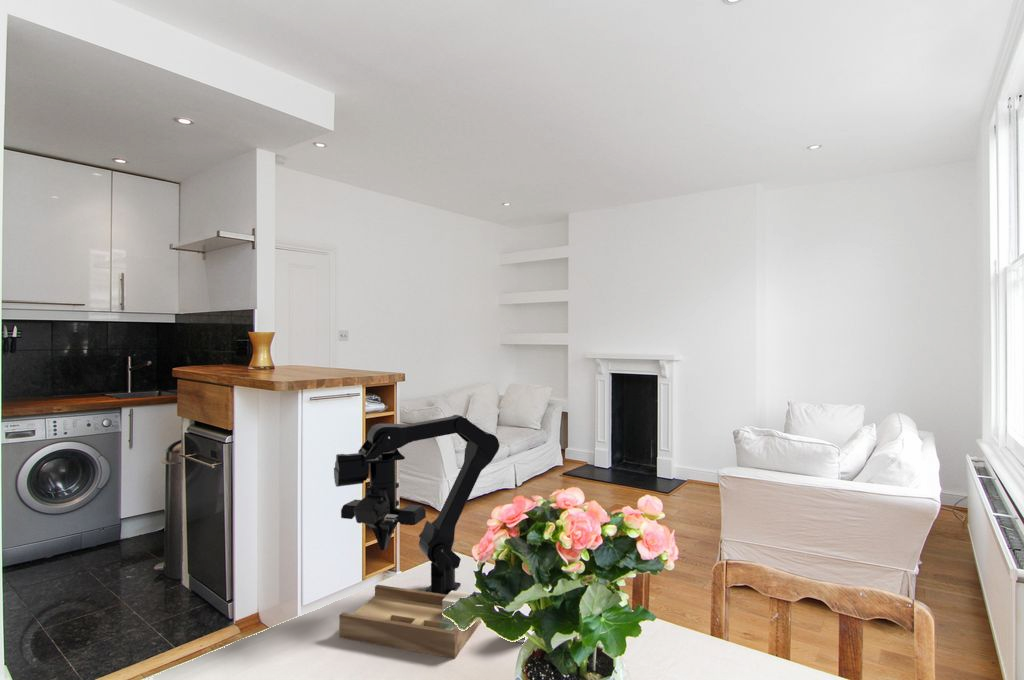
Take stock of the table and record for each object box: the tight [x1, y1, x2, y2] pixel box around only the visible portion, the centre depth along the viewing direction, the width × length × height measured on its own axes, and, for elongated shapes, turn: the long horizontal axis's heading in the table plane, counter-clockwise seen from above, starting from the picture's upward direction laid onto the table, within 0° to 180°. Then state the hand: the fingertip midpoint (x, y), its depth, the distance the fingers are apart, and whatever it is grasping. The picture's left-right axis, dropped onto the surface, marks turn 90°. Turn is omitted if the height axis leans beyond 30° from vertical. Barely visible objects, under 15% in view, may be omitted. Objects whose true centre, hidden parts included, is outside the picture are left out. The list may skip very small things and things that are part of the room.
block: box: [442, 590, 472, 622], centre depth 111 cm, size 4×5×4 cm
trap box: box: [338, 584, 482, 659], centre depth 111 cm, size 14×25×4 cm, turn 72°
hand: (383, 550), depth 122 cm, fingers closed
